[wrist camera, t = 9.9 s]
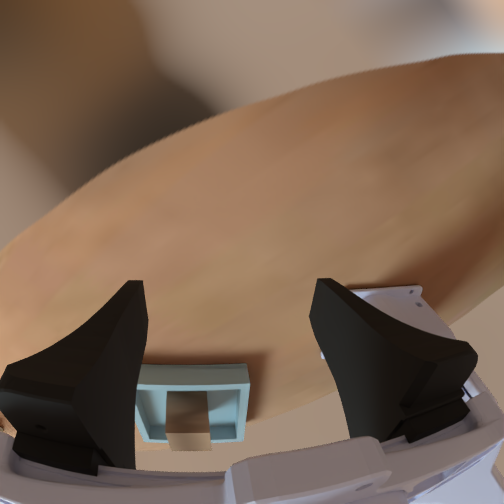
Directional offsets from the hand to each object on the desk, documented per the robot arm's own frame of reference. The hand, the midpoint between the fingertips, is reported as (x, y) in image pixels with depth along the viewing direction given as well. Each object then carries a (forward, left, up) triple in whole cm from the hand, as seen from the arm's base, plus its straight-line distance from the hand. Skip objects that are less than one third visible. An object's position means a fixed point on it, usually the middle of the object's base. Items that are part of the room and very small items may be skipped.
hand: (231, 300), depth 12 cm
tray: (+3, +20, -9) cm, 22 cm away
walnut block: (+3, +20, -9) cm, 22 cm away
